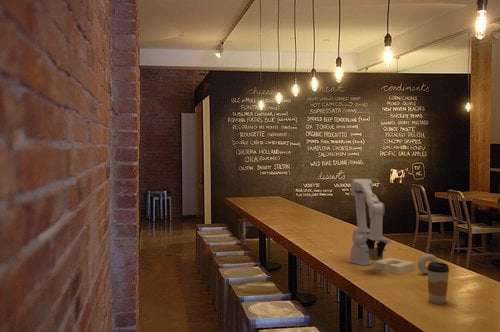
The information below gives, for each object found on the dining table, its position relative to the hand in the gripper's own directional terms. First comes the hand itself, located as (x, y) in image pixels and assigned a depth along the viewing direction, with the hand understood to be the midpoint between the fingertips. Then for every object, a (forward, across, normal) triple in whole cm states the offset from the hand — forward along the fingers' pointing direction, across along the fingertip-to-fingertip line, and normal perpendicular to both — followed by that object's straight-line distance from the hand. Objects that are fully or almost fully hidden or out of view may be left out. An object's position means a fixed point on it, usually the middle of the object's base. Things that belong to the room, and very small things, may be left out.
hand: (375, 255), depth 249 cm
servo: (+2, 0, 0) cm, 2 cm away
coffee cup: (+8, +42, -18) cm, 46 cm away
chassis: (+8, +2, +13) cm, 16 cm away
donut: (+9, +18, +17) cm, 26 cm away
